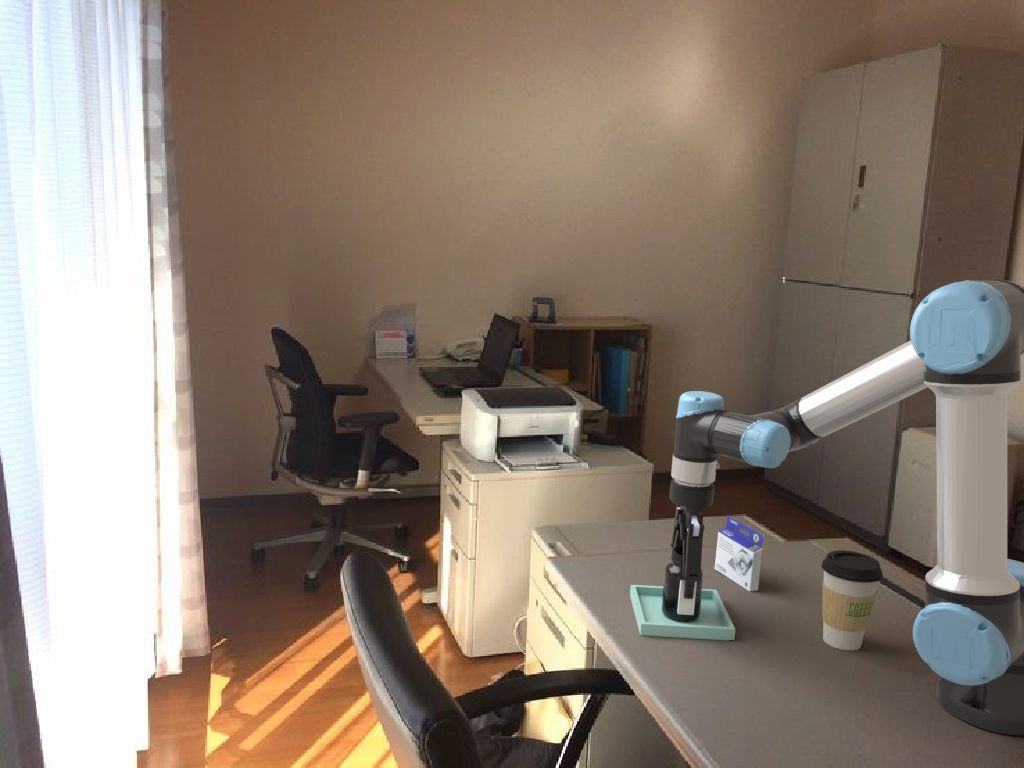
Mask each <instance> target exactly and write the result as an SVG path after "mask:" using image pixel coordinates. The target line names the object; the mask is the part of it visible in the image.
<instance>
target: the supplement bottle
mask: <svg viewBox="0 0 1024 768" xmlns="http://www.w3.org/2000/svg"><path fill="white" fill-rule="evenodd" d="M663 573H664V574H663V584H662V587H663V596H662V613H663V614H664V615H665V616H666V617H667V618H669V619H672V620H675V621H681V622H689V621H694V620H696V619H697V618H698V617H699V615H700V609H701V597H702V589H703V583H704V582H703V581H704V570H703V568H702V567H701V576H700V577H701V580H700V582H697V586H696V596H695V606H694V615H683V614H678V613H677V610H678V599H679V589H680V580H678V577H679V576H681V577H682V575H683V546H681V547H675V548H671V556H670V561H669V562H668V563H667V564H666V565H665V567H664V572H663Z"/></svg>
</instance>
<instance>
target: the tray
mask: <svg viewBox="0 0 1024 768" xmlns="http://www.w3.org/2000/svg"><path fill="white" fill-rule="evenodd" d="M629 590H630V591H629V598H630V601H631V605H632V609H633V612H634V616H635V620H636V621H635V622H636V624H637V628H638V632H639V635H640V636H643V637H644V636H646V637H661V638H662V637H664V638H682V639H683V638H684V639H696V640H698V639H699V640H715V641H717V640H718V641H729V640H734V641H735V636H736V628H735V626H734V623H733V621H732V618H731V617H730V615H729V612H728V610H727V608H726V607H725V604H724V602H723V600H722V598H721V595H720V594H719V592H718V590H717V589H715V588H714V589H711V588H702V597H701V609H700V615H699V617H698V618H697V619H696V620H694V621H689V622H681V621H675V620H672V619H669V618H667V617H666V616H665V615H664V614H663V613H662V596H663V585H661V586H659V585H640V584H630V589H629Z"/></svg>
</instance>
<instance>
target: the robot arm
mask: <svg viewBox="0 0 1024 768" xmlns="http://www.w3.org/2000/svg"><path fill="white" fill-rule="evenodd" d="M909 338H910V339H909V340H908V341H906V342H905V343H903V344H901V345H899V346H897V347H895V348H893V349H891V350H889V351H887V352H886V353H884V354H882V355H880V356H878V357H876V358H874V359H873V360H871V361H869V362H866V363H864V364H862V365H861V366H859V367H858V368H856V369H853V370H852V371H850V372H848V373H846V374H844V375H842V376H840V377H838V378H837V379H835V380H833V381H831V382H829V383H827V384H825V385H823V386H821V387H819V388H818V389H816V390H814V391H812V392H810V393H808V394H807V395H804V396H803V397H801V398H799V399H797V400H795V401H793V402H791V403H789V404H787V405H785V406H783V407H781V408H779V409H774V410H770V411H766V412H761V413H757V414H753V415H751V414H750V415H748V414H747V415H746V414H742V413H738V412H737V413H736V412H732V411H730V410H727V409H724V408H725V406H724V405H725V404H724V398H723V397H722V396H721V395H719V394H717V393H714V392H710V391H701V390H693V391H692V390H690V391H686V392H683V393H682V394H681V395H680V396H679V399H678V406H677V413H676V416H675V418H676V419H675V420H676V421H675V436H674V438H675V439H674V449H673V454H672V461H671V462H672V463H671V473H670V476H671V478H672V479H671V480H670V486H669V496H668V498H669V500H670V502H672V503H673V504H675V515H674V522H673V528H672V535H671V536H672V537H671V543H670V548H671V549H673V548H675V547H681V546H683V575H682V577H681V576H679V577H678V580H680V589H679V599H678V610H677V613H678V614H683V615H694V606H695V596H696V586H697V582H700V580H701V577H700V576H701V568H702V556H703V555H702V553H703V540H704V532H705V531H704V530H705V524H703V522H704V516H703V515H702V514H701V510H702V509H705V508H708V507H709V508H710V507H711V506H712V505H713V503H714V496H715V484H714V482H715V481H716V475H717V473H716V470H717V469H718V470H719V469H720V467H721V466H720V463H718V457H719V456H722V457H726V458H728V459H732V460H736V461H738V462H742V463H746V464H749V465H751V466H754V467H758V468H759V467H762V468H765V469H776V468H778V467H779V466H781V465H782V462H784V461H785V460H786V458H787V456H788V454H789V453H791V452H794V451H800V450H801V451H802V450H803V449H804V450H805V449H806V448H809V447H811V446H812V445H814V444H816V443H817V442H818V441H819V440H821V439H823V438H824V437H826V436H829V435H831V434H832V433H834V432H837V431H839V430H841V429H843V428H845V427H848V426H850V425H851V424H853V423H856V422H858V421H860V420H862V419H864V418H866V417H869V416H870V415H872V414H874V413H877V412H879V411H880V410H881V411H882V410H883V409H885V408H888V407H890V406H891V405H893V404H895V403H898V402H899V401H902V400H903V399H906V398H908V397H910V396H912V395H914V394H917V393H918V392H920V391H923V390H925V389H926V388H928V389H930V390H931V391H932V392H933V393H934V395H935V398H936V399H935V404H936V405H935V406H936V407H935V408H936V410H935V415H936V416H935V417H936V418H935V420H936V421H935V423H936V425H935V427H936V430H935V431H936V435H935V437H936V445H935V446H936V448H935V449H936V565H935V566H934V567H933V568H932V569H930V570H929V571H928V572H926V574H925V579H924V581H925V585H924V586H925V587H924V588H925V589H924V591H925V593H924V594H925V607H923V608H922V609H921V610H920V611H919V612H918V614H917V616H916V618H915V620H914V623H913V626H912V638H913V643H914V648H915V649H916V651H917V653H918V654H919V656H920V658H921V660H923V662H925V663H926V664H927V665H928V667H929V668H931V671H933V672H934V673H935V674H937V675H938V678H937V681H936V688H935V697H936V700H937V701H938V703H939V704H940V705H941V706H942V707H943V708H944V709H945V710H946V711H948V712H949V714H952V715H953V716H955V717H956V718H957V719H960V720H961V721H963V722H965V723H968V724H970V725H972V726H975V727H977V728H981V729H983V730H986V731H990V732H993V733H998V734H1002V735H1011V736H1024V562H1022V561H1019V560H1014V559H1010V558H1008V395H1009V394H1010V393H1011V391H1012V390H1014V389H1015V388H1016V387H1017V386H1018V385H1019V384H1020V383H1021V379H1022V378H1021V374H1022V373H1021V369H1022V368H1021V366H1022V365H1021V359H1022V358H1021V356H1023V355H1024V286H1023V285H1021V284H1019V283H1018V282H1017V283H1016V282H1013V281H1010V280H1005V279H990V280H989V279H988V280H969V279H968V280H963V281H962V280H961V281H955V282H953V283H949V284H946V285H944V286H941V287H939V288H937V289H935V290H933V291H931V292H930V293H929V294H928V295H927V296H925V297H924V298H923V299H922V301H920V303H919V304H918V306H917V307H916V309H915V311H914V313H913V314H912V318H911V320H910V325H909Z"/></svg>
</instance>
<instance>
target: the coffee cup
mask: <svg viewBox="0 0 1024 768" xmlns="http://www.w3.org/2000/svg"><path fill="white" fill-rule="evenodd" d="M820 565H821V568H822V570H823V580H822V617H821V618H822V620H823V623H822V627H823V628H822V629H823V630H822V632H823V633H822V636H823V637H822V639H823V641H824V642H825V644H826V645H828V646H830V647H832V648H834V649H837V648H838V649H839V650H843V651H848V650H849V651H850V650H852V651H857V650H860V648H861V647H862V644H863V640H864V636H865V632H866V630H867V629H868V625H869V623H870V622H869V621H870V618H871V615H872V610H873V608H874V604H875V600H876V597H877V593H878V591H877V590H878V586H879V582H880V581H881V580H882V579H883V577H884V574H883V571H882V570H883V569H881V563H880V562H879V561H878V560H877V559H876V558H874V557H873V556H870V555H868V554H865V553H860V552H857V551H852V550H842V549H841V550H840V549H839V550H832V551H830V552H828V553H827V555H826V556H825V558H824V559H823V560H822V561H821V564H820Z"/></svg>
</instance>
